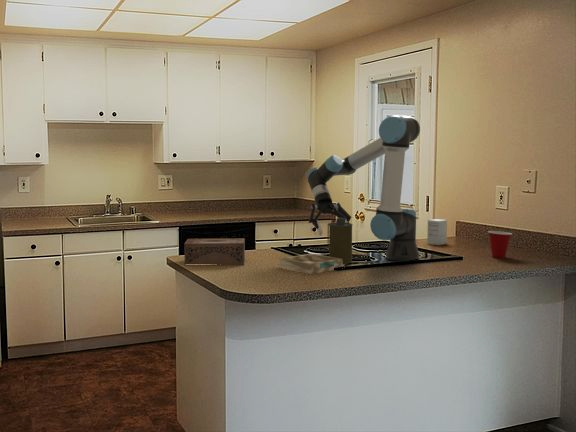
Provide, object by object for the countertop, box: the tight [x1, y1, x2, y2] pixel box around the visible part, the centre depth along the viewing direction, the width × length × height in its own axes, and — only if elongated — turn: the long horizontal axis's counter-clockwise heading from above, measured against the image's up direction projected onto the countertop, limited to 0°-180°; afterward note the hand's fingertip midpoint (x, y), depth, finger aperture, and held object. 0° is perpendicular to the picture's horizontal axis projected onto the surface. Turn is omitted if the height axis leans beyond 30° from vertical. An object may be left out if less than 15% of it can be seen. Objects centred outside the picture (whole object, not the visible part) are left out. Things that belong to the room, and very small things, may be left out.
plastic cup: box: [487, 230, 513, 259], centre depth 324 cm, size 11×11×12 cm
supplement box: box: [426, 218, 448, 246], centre depth 365 cm, size 7×7×13 cm
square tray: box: [277, 253, 345, 275], centre depth 298 cm, size 20×20×4 cm
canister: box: [327, 217, 353, 264], centre depth 309 cm, size 11×10×20 cm
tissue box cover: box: [183, 237, 246, 266], centre depth 311 cm, size 26×14×10 cm, turn 92°
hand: (335, 233), depth 312 cm, fingers open, 13 cm apart
